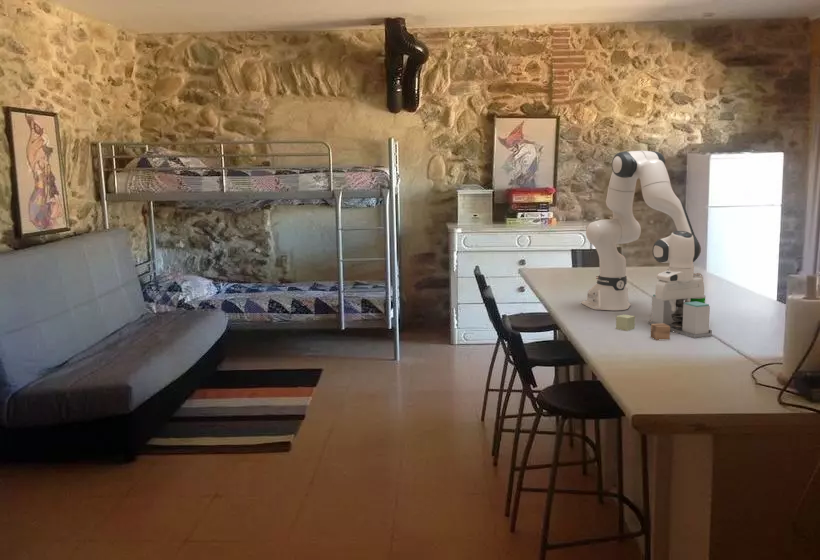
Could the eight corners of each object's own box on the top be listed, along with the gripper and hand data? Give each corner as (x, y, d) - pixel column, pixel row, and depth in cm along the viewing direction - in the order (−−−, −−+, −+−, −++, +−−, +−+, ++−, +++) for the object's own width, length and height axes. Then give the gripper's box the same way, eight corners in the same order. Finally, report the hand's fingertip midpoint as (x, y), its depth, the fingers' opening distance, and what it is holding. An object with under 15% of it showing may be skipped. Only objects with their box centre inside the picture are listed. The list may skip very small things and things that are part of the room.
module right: (682, 330, 282) (683, 302, 280) (695, 328, 284) (696, 301, 282) (695, 334, 275) (696, 305, 273) (708, 332, 277) (709, 304, 275)
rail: (648, 323, 299) (648, 318, 298) (665, 322, 301) (665, 316, 301) (694, 338, 274) (694, 332, 274) (711, 335, 277) (711, 330, 277)
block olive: (616, 328, 292) (616, 316, 291) (623, 326, 295) (623, 314, 294) (627, 331, 288) (627, 318, 287) (634, 328, 291) (635, 316, 290)
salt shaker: (683, 322, 291) (685, 291, 289) (689, 325, 285) (691, 294, 283) (668, 322, 291) (669, 292, 289) (673, 326, 285) (675, 294, 283)
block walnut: (650, 337, 278) (651, 323, 277) (663, 336, 278) (664, 323, 277) (656, 340, 273) (656, 326, 272) (669, 339, 273) (670, 326, 272)
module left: (651, 321, 298) (652, 294, 297) (663, 319, 300) (664, 293, 299) (663, 324, 292) (663, 297, 290) (675, 323, 294) (676, 296, 292)
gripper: (697, 271, 291) (695, 306, 293) (653, 275, 284) (652, 311, 286) (709, 273, 285) (707, 309, 287) (664, 277, 278) (663, 314, 280)
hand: (679, 310), depth 287 cm, fingers closed on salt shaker, 3 cm apart
